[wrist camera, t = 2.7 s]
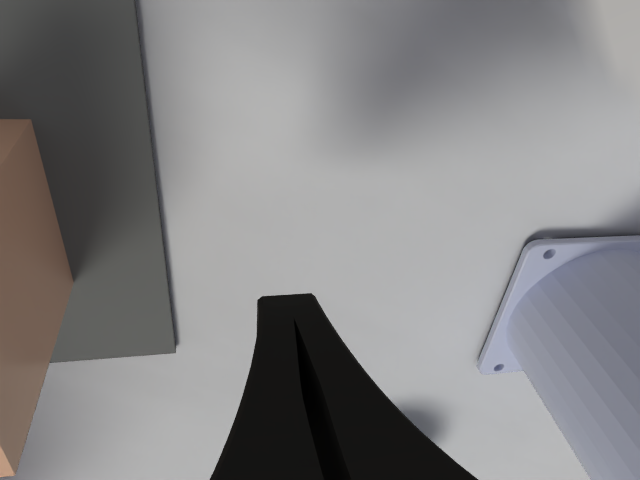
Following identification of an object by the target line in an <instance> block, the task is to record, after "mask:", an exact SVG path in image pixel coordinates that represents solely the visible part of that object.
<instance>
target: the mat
mask: <svg viewBox="0 0 640 480" xmlns="http://www.w3.org/2000/svg"><path fill="white" fill-rule="evenodd" d="M0 119H31V121H32V125H33V129H34V133H35V137H36V140H37V144H38V148H39V152H40V156H41V160H42V163H43V167H44V171H45V175H46V179H47V183H48V186H49V190H50V194H51V198H52V202H53V205H54V209H55V213H56V217H57V221H58V225H59V228H60V232H61V236H62V240H63V244H64V247H65V251H66V255H67V259H68V263H69V267H70V270H71V274H72V278H73V282H74V283H73V286H72V290H71V293H70V296H69V300H68V303H67V306H66V310H65V313H64V316H63V319H62V323H61V326H60V329H59V333H58V336H57V339H56V343H55V346H54V349H53V352H52V356H51V359H50V362H49V363H54V362H67V361H80V360H92V359H105V358H118V357H131V356H144V355H157V354H170V353H176V345H175V336H174V328H173V319H172V311H171V302H170V294H169V285H168V276H167V268H166V259H165V251H164V242H163V234H162V225H161V217H160V208H159V200H158V191H157V183H156V174H155V166H154V157H153V149H152V140H151V132H150V123H149V115H148V106H147V98H146V89H145V81H144V72H143V64H142V55H141V47H140V38H139V30H138V21H137V13H136V4H135V0H0Z"/></svg>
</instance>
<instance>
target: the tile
mask: <svg viewBox="0 0 640 480" xmlns="http://www.w3.org/2000/svg"><path fill="white" fill-rule="evenodd" d="M73 283H74V282H73V278H72V274H71V270H70V267H69V263H68V259H67V255H66V251H65V247H64V244H63V240H62V236H61V232H60V228H59V225H58V221H57V217H56V213H55V209H54V205H53V202H52V198H51V194H50V190H49V186H48V183H47V179H46V175H45V171H44V167H43V163H42V160H41V156H40V152H39V148H38V144H37V140H36V137H35V133H34V129H33V125H32V121H31V119H0V477H6V476H15V475H16V471H17V468H18V465H19V461H20V458H21V455H22V452H23V448H24V445H25V442H26V438H27V435H28V432H29V428H30V425H31V422H32V419H33V415H34V412H35V409H36V405H37V402H38V399H39V395H40V392H41V389H42V386H43V382H44V379H45V376H46V372H47V369H48V366H49V362H50V359H51V356H52V352H53V349H54V346H55V343H56V339H57V336H58V333H59V329H60V326H61V323H62V319H63V316H64V313H65V310H66V306H67V303H68V300H69V296H70V293H71V290H72V286H73Z"/></svg>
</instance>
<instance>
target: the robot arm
mask: <svg viewBox="0 0 640 480" xmlns="http://www.w3.org/2000/svg"><path fill="white" fill-rule="evenodd" d="M547 250H548V251H547ZM546 251H547V252H546ZM477 368H478V370H479V371H480V373H481V374H497V373H507V372H518V371H524V372H525V374H526V376H527V377H528V379H529V381H530V382H531V384H532V385H533V387H534V389H535V390H536V392H537V393H538V395H539V397H540V398H541V400H542V402H543V403H544V405H545V406H546V408H547V410H548V411H549V413H550V415H551V416H552V418H553V419H554V421H555V423H556V424H557V426H558V427H559V429H560V431H561V432H562V434H563V436H564V437H565V439H566V440H567V442H568V444H569V445H570V447H571V449H572V450H573V452H574V453H575V455H576V457H577V458H578V460H579V461H580V463H581V465H582V466H583V468H584V470H585V471H586V473H587V474H588V476H589V478H590V479H591V480H640V235H635V236H611V237H587V238H563V239H539V240H533V241H531V242H529V243H528V244H527V245H526V246H525V247H524V249H523V251H522V253H521V256H520V258H519V261H518V263H517V266H516V268H515V271H514V273H513V276H512V278H511V281H510V283H509V286H508V288H507V291H506V293H505V296H504V298H503V300H502V303H501V305H500V308H499V310H498V313H497V315H496V318H495V320H494V323H493V325H492V328H491V330H490V333H489V335H488V338H487V340H486V343H485V345H484V347H483V350H482V352H481V355H480V357H479V360H478V362H477ZM210 480H478V479H477V478H475V477H474V476H473V475H472V474H470V473H469V472H468V471H466V470H465V469H464V468H463V467H461V466H460V465H459V464H458V463H456V462H455V461H454V460H453V459H452V458H451V457H449V456H448V455H447V454H446V453H445V452H444V451H443V450H441V449H440V448H439V447H438V446H437V445H436V444H435V443H433V442H432V441H431V440H430V439H429V438H428V437H426V436H425V435H424V434H423V433H422V432H421V431H420V430H419V429H418V428H417V427H416V426H415V425H414V424H413V423H412V422H411V421H410V420H409V419H408V418H407V417H406V416H405V415H404V414H403V413H402V412H401V411H400V410H399V409H398V408H397V407H396V406H395V405H394V404H393V403H392V402H391V401H390V400H389V398H388V397H387V396H386V395H385V394H384V393H383V392H382V391H381V389H380V388H379V387H378V386H377V385H376V384H375V382H374V381H373V380H372V379H371V378H370V376H369V375H368V374H367V373H366V372H365V370H364V369H363V368H362V366H361V365H360V364H359V363H358V361H357V360H356V359H355V357H354V356H353V354H352V353H351V352H350V350H349V349H348V348H347V346H346V345H345V344H344V342H343V341H342V339H341V338H340V336H339V335H338V333H337V332H336V330H335V329H334V327H333V326H332V324H331V323H330V321H329V320H328V318H327V316H326V315H325V313H324V311H323V310H322V308H321V306H320V304H319V303H318V301H317V299H316V297H315V296H314V295H313V294H312V293H309V294H293V295H277V296H262V297H261V298H260V299H258V303H257V338H256V344H255V349H254V354H253V358H252V363H251V368H250V371H249V375H248V379H247V382H246V386H245V389H244V393H243V396H242V399H241V402H240V406H239V409H238V412H237V414H236V417H235V420H234V423H233V426H232V428H231V431H230V434H229V436H228V439H227V441H226V444H225V446H224V448H223V451H222V453H221V456H220V458H219V461H218V463H217V465H216V467H215V470H214V472H213V474H212V476H211V478H210Z"/></svg>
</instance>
